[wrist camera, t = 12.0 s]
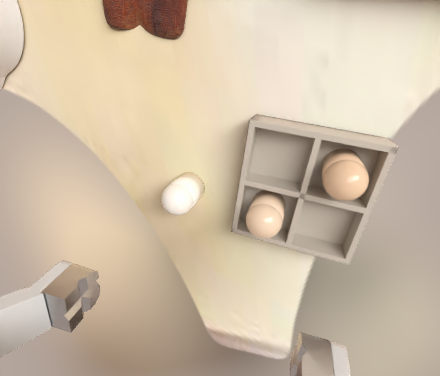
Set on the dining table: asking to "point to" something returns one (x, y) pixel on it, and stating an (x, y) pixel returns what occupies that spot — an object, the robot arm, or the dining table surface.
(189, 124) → the dining table surface
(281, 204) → the seated egg
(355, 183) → the brown egg
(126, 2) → the brown flat tapered piece
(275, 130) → the carton
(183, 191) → the white egg
